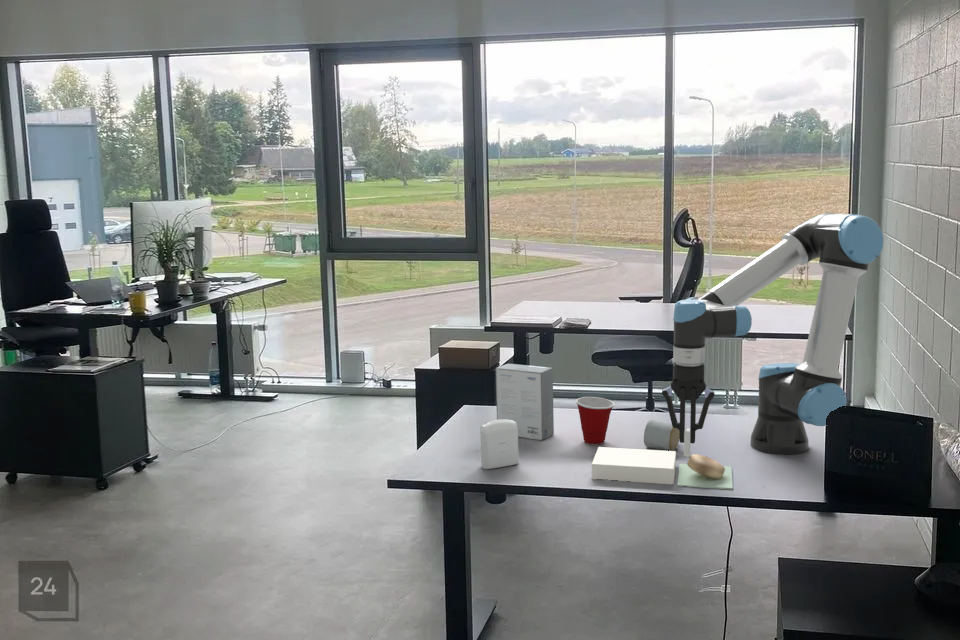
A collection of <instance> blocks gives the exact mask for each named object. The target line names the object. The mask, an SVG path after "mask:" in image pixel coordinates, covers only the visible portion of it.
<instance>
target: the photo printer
mask: <svg viewBox="0 0 960 640" xmlns="http://www.w3.org/2000/svg"><path fill="white" fill-rule="evenodd" d="M479 431H480V432H479V433H480V434H479V435H480V436H479V437H480V461H481V462H480V463H481V465H480V466H481V468H482V469H483V470H491V469H497V468H503V467H510V466H515V465H518V464H519V437H518V428H517V424H516V422H514V421H513V420H507V419H500V420H497V419H494V420H491V421H488V422H485V423H483V424H482V425H480V429H479Z"/></svg>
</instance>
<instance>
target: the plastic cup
mask: <svg viewBox="0 0 960 640" xmlns="http://www.w3.org/2000/svg"><path fill="white" fill-rule="evenodd" d="M575 402H576V405H577V409H578V414H579V420H580V427H581V428H580V429H581V431H582V437H583V441H584V443H585V444H587V445H592V444H598V445H602V444H601V443H603V442H604V443H605V441H606V436H607V431H608V426H609V421H610V417H611V413H612V409H613V408H614V406H615V402H614V401H612V400H610V399H607V398H603V397H598V396H597V397H596V396H583V397H579V398H576V399H575ZM604 443H603V444H604Z"/></svg>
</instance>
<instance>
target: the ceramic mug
mask: <svg viewBox="0 0 960 640" xmlns="http://www.w3.org/2000/svg"><path fill="white" fill-rule="evenodd" d="M679 438H680V431H679V429H677V428H673V426H672V423H668V422H662V421H659V420H655V419H650V420H649V421H648V422H647V423H646V425H645V429H644V432H643V443H644V446H645V447H646V448H651V449H654V450H663V451H668V450H669V451H675V449H677V448H678V445H679V443H680V441H679Z"/></svg>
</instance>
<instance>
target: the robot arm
mask: <svg viewBox="0 0 960 640" xmlns="http://www.w3.org/2000/svg"><path fill="white" fill-rule="evenodd" d="M884 242H885V241H884V233H883V231H882V228H880V226H879V224H878V222H877V221H876V220H874V219H873V218H871V217H869V216H866V215H861V214H857V213H855V214H853V213H835V212H825V213H820V214H817V215H815V216H812V217H811V218H809V219H807V220H805V221H803V222H801V223H800V224H798V225H796V226H795V227H793V228H792V229H790V230H789V231H787V232H785V233H784V234H783V235H782V236H781V239H780V242H778V243H777V244H775V245H774V246H772V247H771V248H769V249H768V250H766V251H765V252H763V253H762V254H760V255H759V256H758V257H756V258H755V259H754V260H752V261H750V262H749V263H747V264H746V265H744V266H743V267H742V268H740V269H739V270H737V271H735V273H734V272H733V274H731V275H730V276H728V277H727V278H725V279H724V280H723V281H721V282H719V283H718V284H717V285H715V286H714V287H712V288H711V289H710V290H708V291H706V292H705V293H703V294H702V295H700V296H699V297H698V296H696V297H695V296H694V297H693V296H692V297H687V298H686V299H681V300H679V301H677V302H676V303H675V304H674V310H673V318H672V321H673V350H672V351H673V353H672V354H673V355H672V357H673V358H672V359H673V362H674V363H673V365H672V382H671V383H670V386H668V387H666V388H663V389H662V392H661V394H662V396H663V397H664V399H665V401H666V405H667V409H668V414H669V418H670V424H672V426H673V428H677V429H679V431H680V438H679V443H682V444H683V457H686V458H690V455H691V444H695V442H696V431H698V430H702V429H703V428H704V426H705V425H704V424H705V421H706V417H707V413H708V410H709V408H710V403H711V401H712V400H713V398H714V397H715V391H714V390H713V389H710V388H709V387H707V384H706V382H705V365H704V363H705V356H706V347H705V346H706V339H711V338H712V339H713V338H728V337H734V338H736V337H739V336H745V335H747V334H748V333H749V332H750V331H751V328H752V321H753V320H752V314H751V312H750V310H749V308H747V306H744V305H741V304H743V303H744V302H745V301H746V300H748V299H750V298H751V297H753V296H754V295H756V294H757V293H758V292H760V291H762V289H765V288H766V287H767V286H769V285H770V284H771V283H774V281H776V280H778V279H779V278H781V277H782V276H783V275H785V274H786V273H788V272H789V271H791V270H792V269H794V268H795V267H796V266H798V265H800V266H804V265H806V264H808V263H809V262H811V261H813V260H816V259H819V261H818V264H819V266H820V268H821V269H822V276H821V281H820V284H819V290H818V295H817V298H816V299H817V300H816V302H815V307H814V311H813V316H812V320H811V325H810V329H809V333H808V338H807V342H806V347H805V352H804V354H803V359H802V362H800V363H792V362H791V363H790V362H788V363H787V362H785V363H784V362H783V363H782V362H781V363H780V362H779V363H769V364H768V363H767V364H765V365H762V366H761V367H760V368H759V374H758V399H757V400H758V401H757V402H758V404H757V405H758V408H757V409H758V410H757V412H758V413H757V419H756V422H755V423H754V427H753V430H752V432H751V436H750V446H751V447H753V448H754V449H755V450H758V451H760V452H765V453H769V454H776V455H777V454H778V455H794V454H795V455H796V454H801V453H804V452H807V451H808V450H809V437H808V435H807V430H806V427H805V425H804V423H805V424H807V425H812V426H815V427H826V426H827V425H826V418H827V416H828V415H829V413H830V412H831V411H834V410H835V409H837V408H839V407H842V406H846V407H847V395H846V394H845V391H844V390H843V388H842V387H841V384H842V382H843V381H842V380H843V376H842V374H841V372H840V371H839V369H838V368H839V366H840V361H841V357H842V352H843V348H844V344H845V338H846V334H847V330H848V327H849V321H850V319H851V312H852V309H853V305H854V300H855V295H856V291H857V287H858V283H859V280H860V279H859V278H860V277H861V276H862V275H864V274H866V273H867V272H868V267H869V264H870V263H872V262H873V261H875V260H876V258H879V256H880V254H881V253H882V251H883V249H884ZM673 393H674V394H675V395H676V397H677V398H678V399H679V422H678V419H677V418H678V417H677V416H676V415H677V414H676V410H675V407H674V402H673V397H672V396H673ZM703 393H704V398H705V399H704V400H703V405H702V408H701V412H700V416H699V419H698V422H697V423H696V421H697V417H696V415H697V413H696V411H697V410H696V409H697V400H698V399H699V398H700V397H701V396H702V394H703ZM686 401H690V423H689V424H690V425H689V426H690V427H689V428H686Z"/></svg>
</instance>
